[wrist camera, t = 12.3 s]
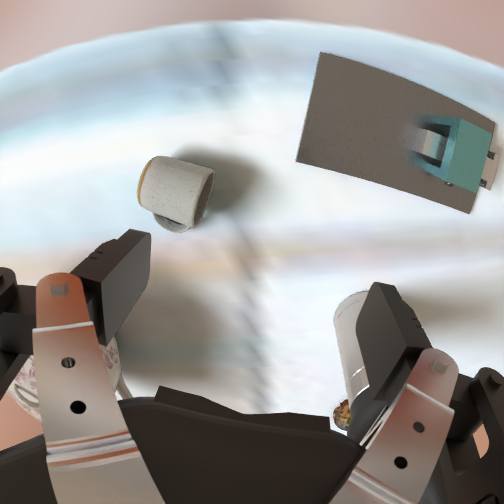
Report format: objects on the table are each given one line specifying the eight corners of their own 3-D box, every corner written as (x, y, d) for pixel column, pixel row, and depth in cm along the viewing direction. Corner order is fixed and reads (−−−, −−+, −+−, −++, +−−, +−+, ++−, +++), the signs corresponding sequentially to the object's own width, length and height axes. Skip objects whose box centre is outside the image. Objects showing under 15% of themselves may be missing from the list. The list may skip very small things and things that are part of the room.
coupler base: (491, 122, 33) (507, 125, 29) (466, 211, 39) (479, 221, 35) (319, 53, 32) (323, 47, 29) (295, 160, 38) (297, 165, 35)
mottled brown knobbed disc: (395, 410, 57) (402, 438, 50) (346, 431, 61) (350, 458, 54) (377, 383, 54) (385, 413, 47) (322, 407, 57) (325, 437, 50)
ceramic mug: (161, 149, 39) (138, 159, 32) (219, 164, 39) (206, 177, 33) (148, 219, 43) (126, 241, 37) (201, 235, 44) (186, 260, 37)
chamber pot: (6, 274, 51) (-58, 332, 32) (102, 247, 46) (21, 326, 27) (68, 378, 62) (29, 444, 43) (167, 378, 57) (135, 468, 38)
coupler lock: (467, 128, 33) (492, 134, 27) (452, 185, 36) (474, 197, 31) (438, 115, 33) (461, 118, 27) (423, 174, 36) (443, 185, 31)
